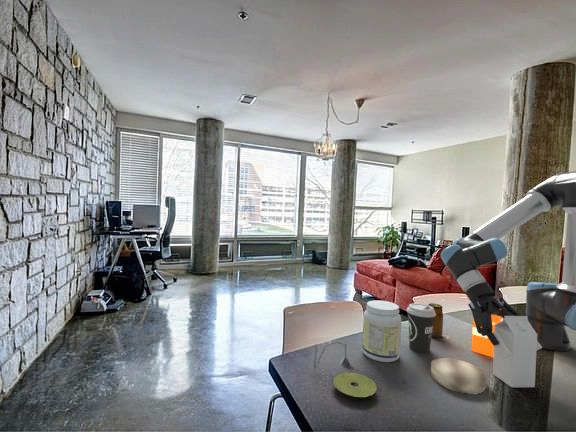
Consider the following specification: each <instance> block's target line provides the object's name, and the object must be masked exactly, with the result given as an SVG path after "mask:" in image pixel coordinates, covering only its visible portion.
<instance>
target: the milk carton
mask: <svg viewBox="0 0 576 432" xmlns="http://www.w3.org/2000/svg"><path fill="white" fill-rule="evenodd" d="M527 319H528V316H526V315H522V316H504V318H503V321H501V322H499V323H498V324H496V325H495V331H496V332H497V334H498V335H499V337H500V338H501V340H502V341H503V342H504V344H505V345H506V347H507V348H508V350H509V351H510V352H511V354H512V355H510V356H508V357H506V358H502V357H501V355H500V354H499V352H498V351H497V349H496V348H495V347H494V354H493V357H492V359H493V360H492V375H493V376H494V377H497V378H498V379H499V380H501V381H502V382H503V383H504V384H506V385H507V386H509V387H511V388H535V387H536V386H535V385H536V369H537V367H536V366H537V351H538V350H537V333H536V332H535V330H534V329H533V327H532V326H531V324H530V323H529V321H528V320H527Z"/></svg>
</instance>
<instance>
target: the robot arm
mask: <svg viewBox="0 0 576 432" xmlns="http://www.w3.org/2000/svg"><path fill="white" fill-rule="evenodd" d="M558 206H559V207H560V206H561V208H562V210H563V211H564V212H565V213H566V214H567V216H566V229H565V241H564V242H565V244H564V253H563V265H562V267H563V268H562V279H561V282H560V283H554V282H542V281H530V282H529V283H527V285H526V286H527V287H526V290H525V292H526V297H525V316H528V319H527V320H528V321H529V323H530V324H531V326H532V327H533V329H534V330H535V332H536V333H537V351H538V350H541V349H544V350H545V349H546V350H549V351H556V352H567V351H568V352H569V351H570V350H571V341H570V338H569V335H568V332H567V328H569V329H570V330H573V331H576V170H573V171H564V172H559V173H557V174H554V175H552V176H551V177H548V178H547V179H545V180H543V181H542V182H541V183H538V184H537V185H536V186H534V187H532V189H530V190H527V192H526V194H525V196H524V197H523V198H522V199H520V200H518V201H517V202H516V203H514V204H512V205H511V206H509V207H508V208H506V209H505V210H504V211H502V212H500V213H499V214H498V215H496V216H495V217H493V218H492V219H490V220H489V221H487V222H486V223H484V224H482V225H481V226H480V227H479V228H477V229H476V230H474V231H473V232H471V233H469V234H467V236H465V237H464V236H462V237H457V238H456V239H454V241H453V242H452V244H451V245H449V246H447V247H445V248H444V249H442V251H441V253H440V258H441V260H442V262H443V263H444V266H445V267H446V268H447V269H448V271H449V272H450V273H451V275H452V276H453V278H454V279H455V281H456V282H457V283H458V284H459V286H460V288H461V289H462V291H463V292H465V295H466V297H467V298H468V300H469V301H470V302H469V303H468V307H469V309H470V311H471V314H472V318H474V322H475V325H476V329H477V332H478V333H479V334H481V335H482V336H487V337H488V339H489V340H490V342H491V343H492V344H493V345H494V347H495V348H496V349H497V351H498V352H499V354H500V355H501V357H502V358H506V357H508V356H510V355H512V354H511V352H510V351H509V350H508V348H507V347H506V345H505V344H504V342H503V341H502V340H501V338H500V337H499V335H498V334H497V332H496V331H495V332H493V328H492V317H491V315H497V316H501V317H502V318H503V319H504V316H523V315H522V314H521V313H519V312H518V311H517V310H516V309H515V308H514V307H512V306H511V304H509V303H508V302H507V301H506V300H505V299H504V298H503V297H502V296H501V297H499V298H498V299H497V298H496V297H495V296H494V294H495V291H494V290H493V288H492V287H491V285H490V284H489V283H488V282H487V281H486V278H484V276H483V275H482V273H481V272H480V271H479V270H478V268H482V267H483V266H486V265H489V264H492V263H495V262H499V261H500V260H503V259H505V258H506V257H507V256H508V249H507V246H506V245H505V243H504V242H503V241H502V238H504V237H505V236H506V235H508V234H510V233H511V232H513V231H515V230H516V229H518V228H519V227H521V226H522V225H524V224H525V223H527V222H528V221H530V220H531V219H533V218H534V217H536V216H537V215H539V214H540V213H542V212H544V213H546V212H548V211H550V210H551V209H553V208H556V207H558ZM493 296H494V297H493ZM500 309H501V310H500ZM566 327H567V328H566Z"/></svg>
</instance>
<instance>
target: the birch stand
mask: <svg viewBox="0 0 576 432" xmlns="http://www.w3.org/2000/svg"><path fill="white" fill-rule="evenodd" d="M430 377H431V378H432V379H433V381H435V383H437V384H438V383H439V384H438V385H440V386H441V387H443V386H444V388H446V389H448V390H450V391H453V392H456V393H459V392H460V394H464V393H467V394H466V395H474V394H473V393H480V392H483V391H484V390H485V389H486V390H487V375H486V373H485V372H484V370H482V369H481V368H480V367H478V366H476V365H474V364H472V363H470V362H467V361H464V360H460V359H456V358H451V357H439V358H438V357H437V358H435V359H433V360H431V361H430ZM486 390H485V391H486ZM485 391H484V392H485ZM484 392H483V393H484Z"/></svg>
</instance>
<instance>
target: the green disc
mask: <svg viewBox="0 0 576 432" xmlns="http://www.w3.org/2000/svg"><path fill="white" fill-rule="evenodd" d="M332 384H333V385H334V387H335V388H336V389H337V390H338V391H339V392H341V393H343V394H345V395H347V396H351V397H355V398H367V397H370V396H373V395H374V394H375V393H376V392H377V389H378V388H377V385H376V383H375V381H374V380H373V379H372V378H370V377H368V376H366V375H364V374H361V373H355V372H343V373H340V374H337V375H336V376H335V377H333V383H332Z"/></svg>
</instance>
